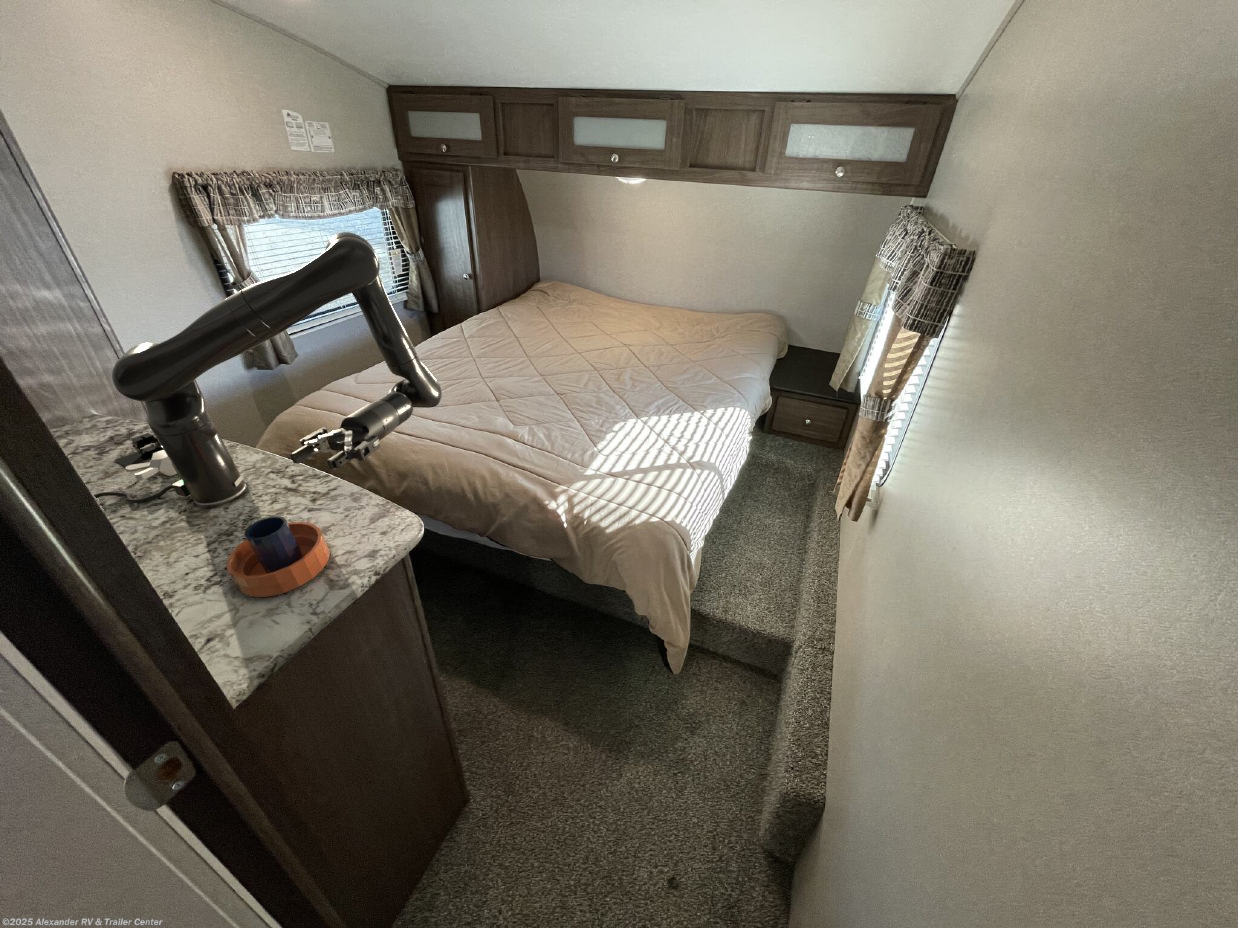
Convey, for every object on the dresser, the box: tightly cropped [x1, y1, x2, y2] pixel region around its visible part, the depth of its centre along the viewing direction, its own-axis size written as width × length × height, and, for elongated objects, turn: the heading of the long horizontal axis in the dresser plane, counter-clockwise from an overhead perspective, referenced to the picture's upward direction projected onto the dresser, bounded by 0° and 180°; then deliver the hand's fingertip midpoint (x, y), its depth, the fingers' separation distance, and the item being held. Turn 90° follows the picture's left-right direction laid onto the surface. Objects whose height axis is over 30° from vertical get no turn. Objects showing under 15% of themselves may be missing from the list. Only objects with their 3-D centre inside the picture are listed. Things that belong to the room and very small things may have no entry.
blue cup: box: [244, 515, 304, 574], centre depth 85 cm, size 6×6×9 cm
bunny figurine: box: [125, 450, 178, 481], centre depth 115 cm, size 10×5×15 cm
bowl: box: [226, 521, 331, 598], centre depth 86 cm, size 14×14×5 cm
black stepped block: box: [114, 432, 164, 468], centre depth 122 cm, size 12×7×5 cm, turn 151°
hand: (311, 462), depth 91 cm, fingers open, 8 cm apart
